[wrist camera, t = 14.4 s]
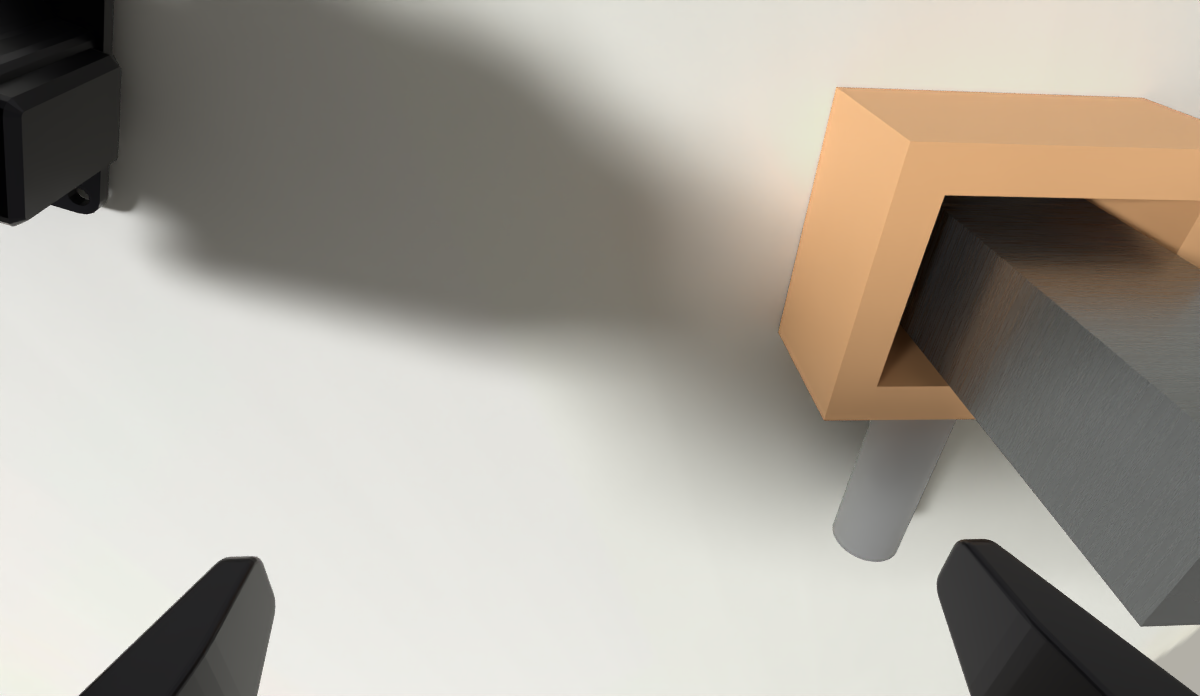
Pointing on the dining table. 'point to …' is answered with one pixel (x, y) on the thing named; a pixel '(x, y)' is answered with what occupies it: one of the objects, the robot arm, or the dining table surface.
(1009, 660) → the robot arm
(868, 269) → the bracket head
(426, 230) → the dining table surface
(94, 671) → the dining table surface
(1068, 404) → the dark grey long block
